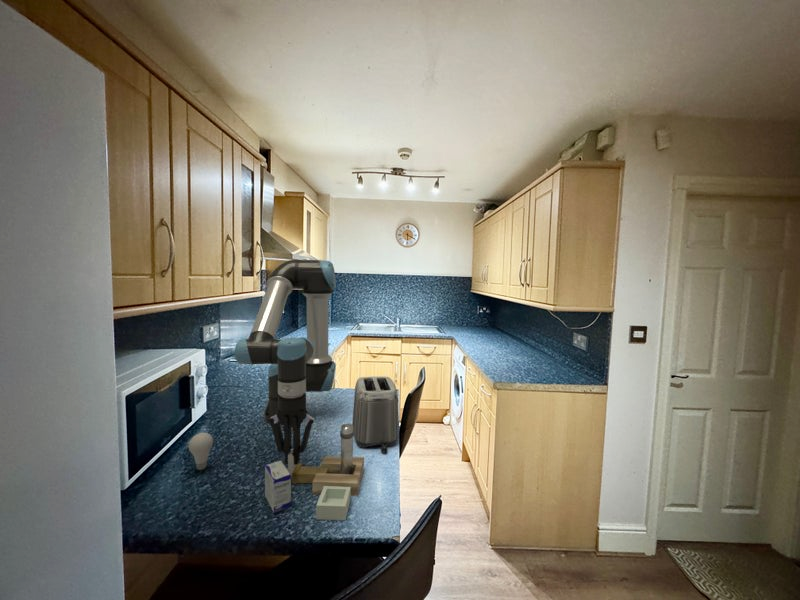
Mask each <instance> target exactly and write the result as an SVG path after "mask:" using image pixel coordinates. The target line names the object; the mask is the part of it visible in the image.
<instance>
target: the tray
mask: <svg viewBox="0 0 800 600" xmlns="http://www.w3.org/2000/svg"><path fill="white" fill-rule="evenodd" d="M351 500H352V496H351V487H338V486H324V487H323V490H322V492H321V495H319V497H318V500H317V503H316V506H315V511H316V512H315V513H316V514H315V519H316V520H321V521H322V520H323V521H324V520H326V521H327V520H328V521H346V520H347V515H348V512H349V508H350V504H351Z"/></svg>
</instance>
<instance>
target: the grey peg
mask: <svg viewBox="0 0 800 600" xmlns="http://www.w3.org/2000/svg"><path fill="white" fill-rule="evenodd" d="M339 436H340V457H341V474H353V457H354V437H355V436H354V430H353V425H352V424H351V423H344V424H341V426H340V433H339Z"/></svg>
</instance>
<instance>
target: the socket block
mask: <svg viewBox="0 0 800 600" xmlns="http://www.w3.org/2000/svg"><path fill="white" fill-rule="evenodd" d="M364 460H365V459H364V457H359V456H358V457H357V456H353V474H341V456H327V455H324V457H323V459H322V461H321V462H320V467H329V474H324V473H316V475H315V478H314V480H313V482H312V483H311V486H312V489H311V490H312V495H313V496H314V495H316V496H317V495H319V496H320V495H321V492H322V490H323V487H324V486H338V487H351V497H352V496H353V497H358V495H359V489H360V486H361V482H362V478H363V473H364V468H365V466H364V465H365V464H364V462H365V461H364Z"/></svg>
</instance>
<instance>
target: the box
mask: <svg viewBox="0 0 800 600" xmlns="http://www.w3.org/2000/svg"><path fill="white" fill-rule="evenodd" d="M264 497H265V499H266V501H267V503H268V505H269V506H270V508H271V510H272V512H273V514H276V513H279V512H282V511H283V510H285V509H288V508H289V507H291V506H292V478H291V474H290V472H289V471H288V467H287V466H286V464H285V462H283V460H278V461H274V462H272V463H268V464H266V465H264Z"/></svg>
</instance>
